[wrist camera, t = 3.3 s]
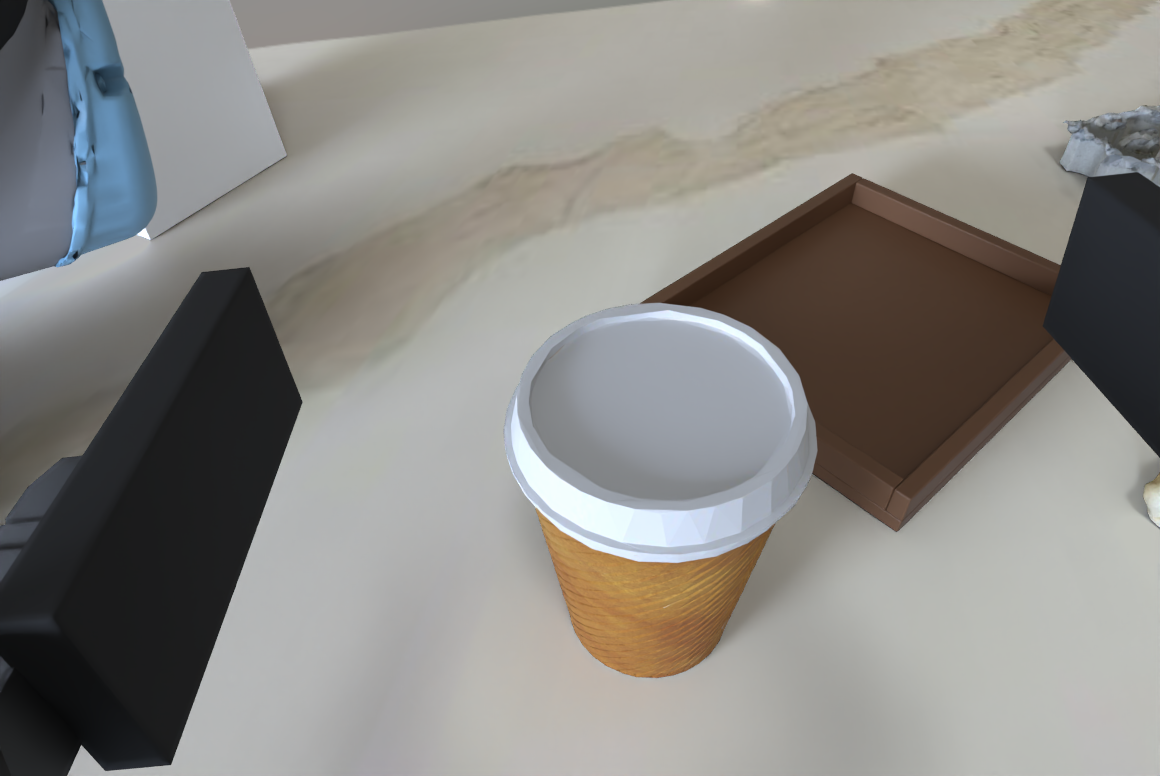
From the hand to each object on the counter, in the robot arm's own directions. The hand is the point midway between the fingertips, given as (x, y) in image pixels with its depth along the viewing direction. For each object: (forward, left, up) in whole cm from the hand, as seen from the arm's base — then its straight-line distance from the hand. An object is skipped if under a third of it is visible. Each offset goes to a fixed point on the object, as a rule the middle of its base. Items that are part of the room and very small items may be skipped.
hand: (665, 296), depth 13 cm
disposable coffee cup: (-4, +5, -21) cm, 22 cm away
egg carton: (-4, +52, -21) cm, 56 cm away
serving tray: (-8, +25, -21) cm, 33 cm away
